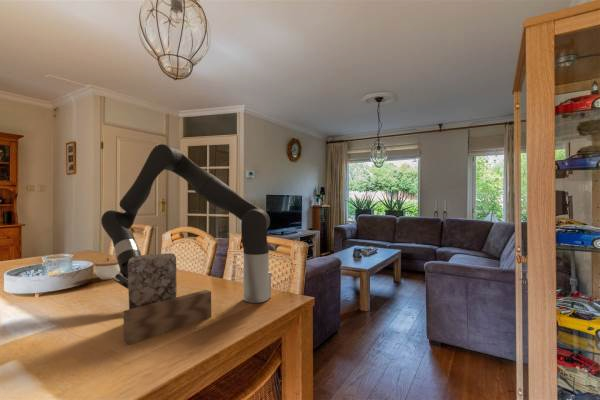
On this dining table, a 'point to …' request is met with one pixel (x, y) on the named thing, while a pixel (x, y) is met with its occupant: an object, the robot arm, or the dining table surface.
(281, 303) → the dining table surface
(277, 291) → the dining table surface
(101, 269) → the lidded jar
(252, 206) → the robot arm
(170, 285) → the stone block
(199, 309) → the stop bar
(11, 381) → the dining table surface
